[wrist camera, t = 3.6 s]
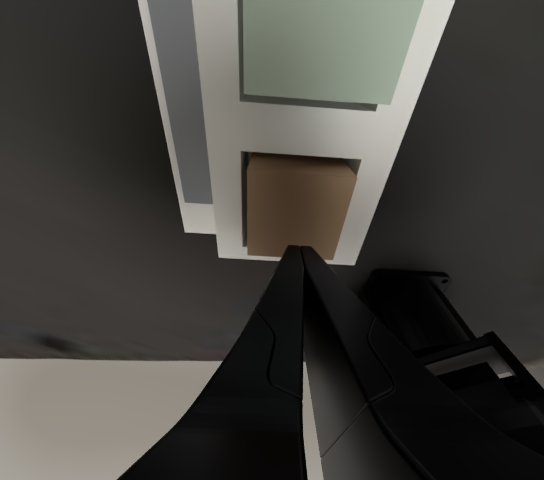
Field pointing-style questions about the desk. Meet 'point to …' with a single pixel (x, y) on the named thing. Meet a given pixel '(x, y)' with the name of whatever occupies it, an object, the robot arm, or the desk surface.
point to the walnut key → (296, 202)
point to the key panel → (266, 119)
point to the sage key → (327, 48)
